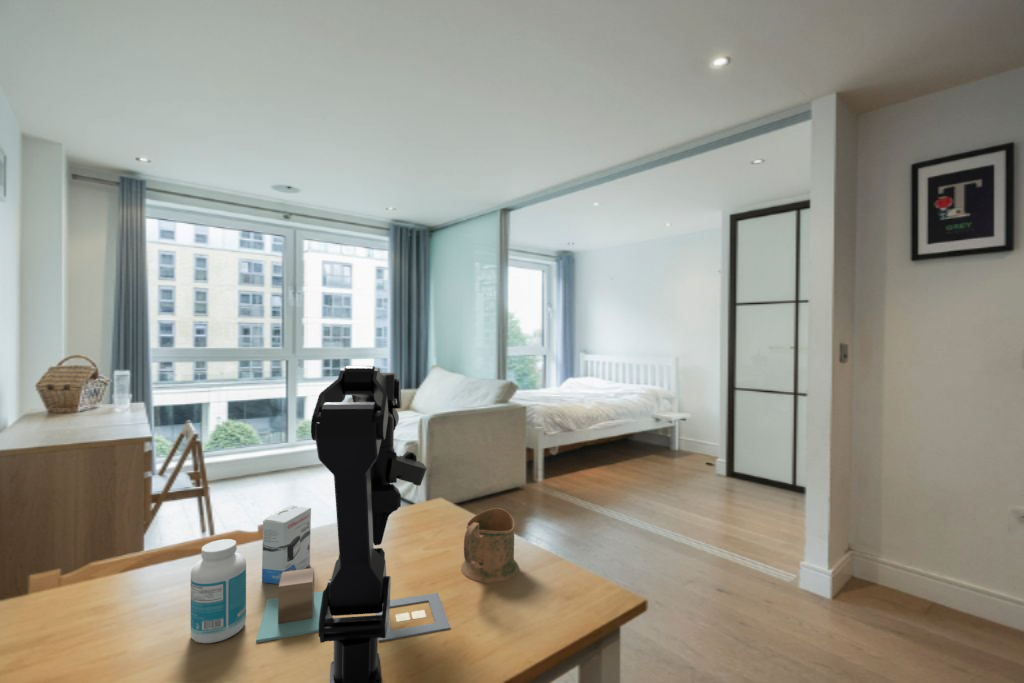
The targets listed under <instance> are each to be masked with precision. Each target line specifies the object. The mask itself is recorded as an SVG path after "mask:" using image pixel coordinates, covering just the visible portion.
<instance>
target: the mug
mask: <svg viewBox="0 0 1024 683" xmlns="http://www.w3.org/2000/svg"><path fill="white" fill-rule="evenodd" d="M513 517H514V516H512V515H511V514H510V512H508V511H507V510H505V509H503V508H500V507H494V508H490V509H487V510H483V511H481V512H479V513H478V514H475V515H474V516H473V517H472V518H470V519H469V521H468V522H467V523H466V531H465V534H464V538H463V555H464V557H463V558H464V561H463V562H462V564H461V565H460V566H461V567H460V571H461V573H462V574H463V575H464V577H466V578H467V579H469V580H472V581H474V582H479V583H484V584H485V583H486V584H487V583H488V584H489V583H491V584H493V583H500V582H505V581H508V580H510V579H513V578H514V577H515V576H517V575H518V573H519V564H518V562H517V561H516V560H515V519H514V518H513Z"/></svg>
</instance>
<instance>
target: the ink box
mask: <svg viewBox="0 0 1024 683" xmlns="http://www.w3.org/2000/svg"><path fill="white" fill-rule="evenodd" d="M311 518H312V508H311V507H304V506H298V505H289V506H286V507H285V508H283V509H281V510H279V511H276V512H274V514H270V515H269V516H267V517H265V518H264V519H263V520H262V554H261V555H262V558H261V559H262V560H261V561H262V563H261V582H262V583H266V584H274V585H275V584H276V585H279V583H280V579H281V575H282V572H286V571H294V570H302V569H307V568H308V567H309V566H310V565H311V528H312V526H311V521H312V519H311Z"/></svg>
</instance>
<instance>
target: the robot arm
mask: <svg viewBox="0 0 1024 683" xmlns="http://www.w3.org/2000/svg"><path fill="white" fill-rule="evenodd" d="M339 370H340V371H339V374H338V377H337V379H336V380H334V381H333V382H332V383H331V384H330V385H329V386H327V387H326V388H325V389H324V390H322V391H321V392H320V393H319V394H318V397H317V400H316V404H315V407H314V410H313V413H312V416H311V423H310V436H311V439H312V440H313V441H314V442H315V446H316V452H317V459H318V460H319V461H320V462H321V463H322V464H323V466H324V467H325V468H326V469H327V470H328V471H329V472H330V473H331V475H333V483H334V496H335V509H336V510H335V512H336V522H337V524H336V527H337V539H338V554H339V555H338V558H337V560H336V561H335V564H334V567H333V571H332V575H331V578H329V579H328V581H327V584H326V587H325V589H324V590H322V591H323V595H322V602H321V609H320V616H319V632H318V637H319V642H320V643H321V644H323V643H325V642H333V660H332V661H331V662H330V670H329V671H330V672H329V674H330V675H329V683H383V682H382V681H383V680H382V671H381V664H380V663H381V661H380V654H379V653H378V646H379V645H378V643H379V639H378V638H386V633H387V627H388V622H389V620H390V611H391V610H390V609H391V608H390V600H391V589H392V588H391V584H392V582H391V581H392V580H391V579H392V578H391V575H387V565H386V564H387V563H386V562H387V560H386V552H385V550H384V549H383V548H382V547H380V548H378V547H377V548H376V547H375V548H374V546H380V545H381V544H382V542H383V538H384V534H385V531H386V526H387V523H388V519H389V516H390V515H391V514H393V513H394V512H396V511H398V510H399V508H401V505H402V504H401V503H402V494H401V492H400V490H399V488H398V487H397V486H396V485H395V483H397V482H398V480H400V481H404V482H408V483H411V484H413V485H415V486H419V487H420V486H421V485H422V482H423V480H424V478H425V474H426V472H427V467H426V465H425V464H424V463H422V462H421V461H420V460H418V459H417V455H416V454H415V452H412V451H409V450H408V451H406V452H405V453H404V454H403V455H397V452H395V448H394V447H395V446H394V437H395V434H394V433H395V430H396V428H397V425H398V424H399V419H400V416H399V413H398V411H397V410H398V409H402V390H401V389H402V388H401V386H402V385H401V379H400V378H398V376H397V373H396V372H381V369H380V367H375V366H374V365H346V366H345V367H341V368H340V369H339ZM346 396H351V397H352V401H351V402H349V401H348V402H347V401H345V398H346ZM344 401H345V402H344ZM397 479H398V480H397ZM382 611H383V612H382ZM381 612H382V615H376V613H381ZM369 614H371V615H369ZM373 614H375V615H373ZM351 615H353V616H351ZM354 615H357V616H354ZM358 615H359V616H358ZM361 615H363V616H361ZM334 616H335V617H334ZM337 616H338V617H337ZM340 616H343V617H340Z"/></svg>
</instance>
